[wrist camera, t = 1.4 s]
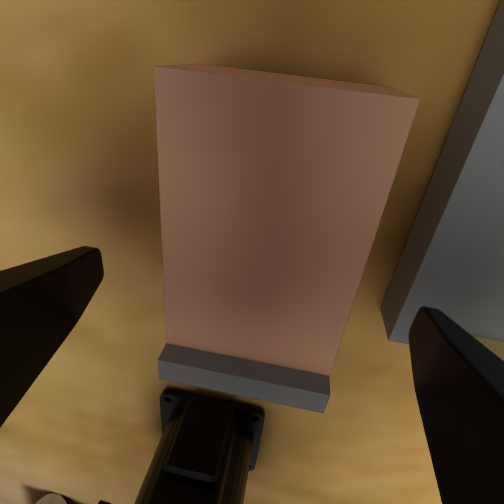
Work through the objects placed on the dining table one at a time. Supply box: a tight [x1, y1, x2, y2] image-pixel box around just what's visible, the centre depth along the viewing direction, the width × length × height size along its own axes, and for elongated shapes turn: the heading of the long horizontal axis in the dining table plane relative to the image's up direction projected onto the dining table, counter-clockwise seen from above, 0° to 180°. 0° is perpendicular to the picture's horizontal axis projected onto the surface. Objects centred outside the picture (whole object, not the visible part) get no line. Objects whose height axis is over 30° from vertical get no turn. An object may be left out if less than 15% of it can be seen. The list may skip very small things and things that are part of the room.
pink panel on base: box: [154, 64, 420, 413], centre depth 12 cm, size 10×6×5 cm, turn 174°
